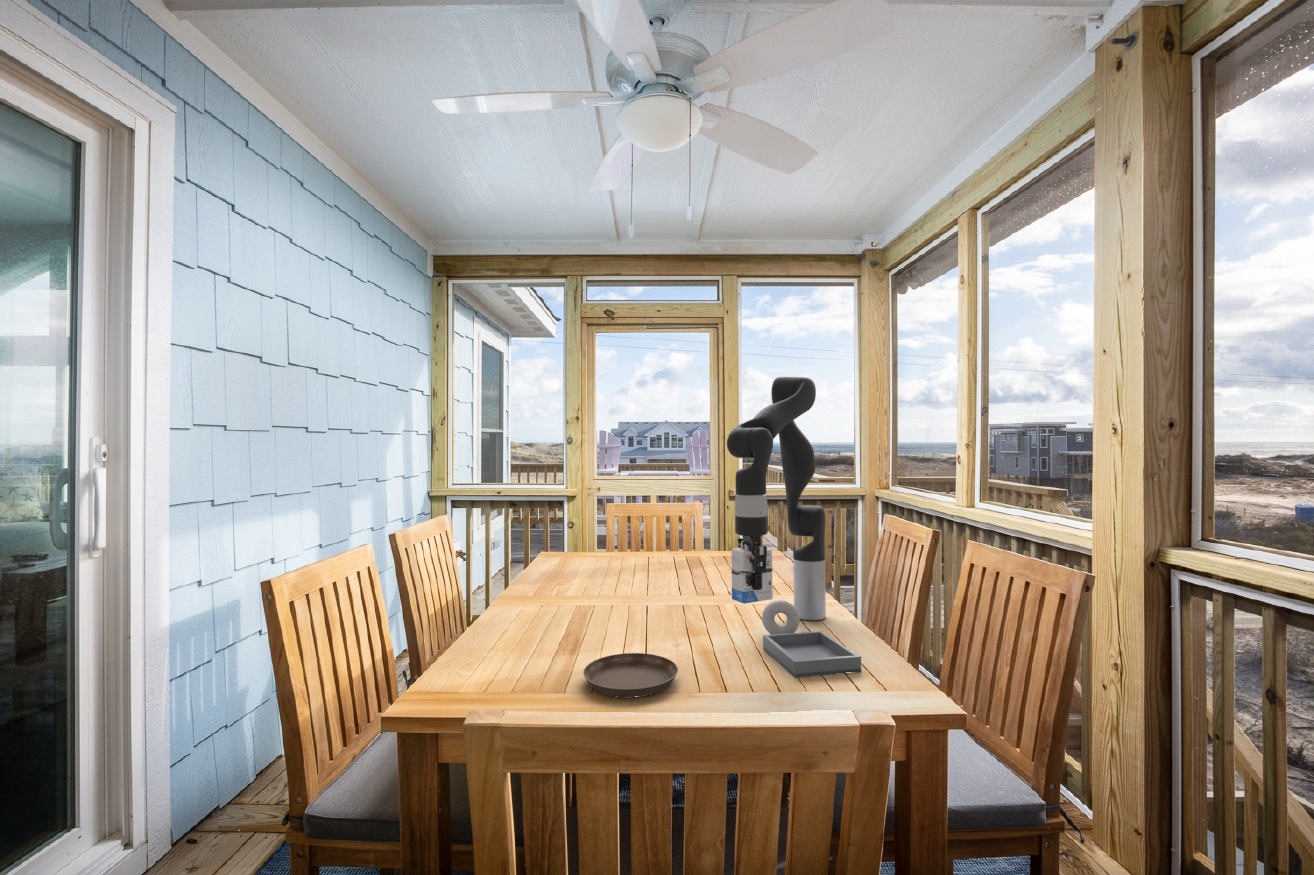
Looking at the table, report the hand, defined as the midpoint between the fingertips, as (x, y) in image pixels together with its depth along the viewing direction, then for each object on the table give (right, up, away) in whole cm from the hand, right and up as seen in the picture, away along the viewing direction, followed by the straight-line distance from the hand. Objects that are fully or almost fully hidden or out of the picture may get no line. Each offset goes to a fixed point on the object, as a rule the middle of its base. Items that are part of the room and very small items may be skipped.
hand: (752, 585), depth 145 cm
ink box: (0, -3, 0) cm, 3 cm away
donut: (+11, -19, +23) cm, 32 cm away
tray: (+14, -19, +5) cm, 24 cm away
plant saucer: (-28, -20, -8) cm, 35 cm away
